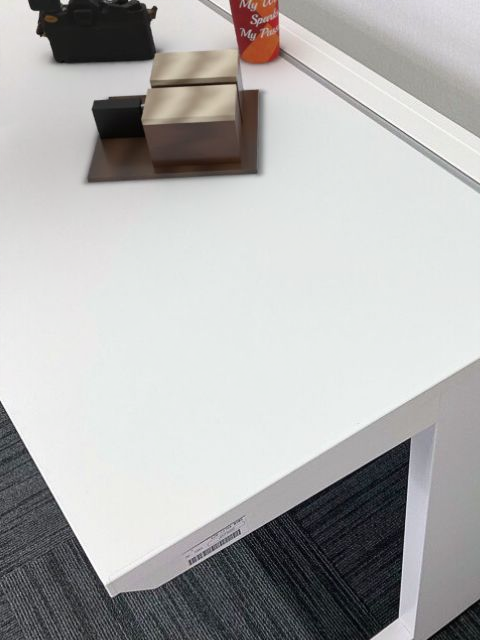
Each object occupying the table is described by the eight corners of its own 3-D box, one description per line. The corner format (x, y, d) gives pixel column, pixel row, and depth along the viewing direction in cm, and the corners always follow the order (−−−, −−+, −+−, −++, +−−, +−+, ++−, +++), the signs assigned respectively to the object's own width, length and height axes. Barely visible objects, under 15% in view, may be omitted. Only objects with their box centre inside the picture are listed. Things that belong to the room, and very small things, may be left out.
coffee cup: (250, 75, 112) (238, -31, 101) (222, 53, 117) (207, -51, 105) (298, 57, 115) (291, -47, 104) (269, 37, 120) (259, -66, 109)
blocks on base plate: (89, 184, 95) (71, 129, 89) (110, 102, 108) (95, 50, 102) (257, 175, 96) (250, 120, 90) (259, 95, 108) (253, 42, 103)
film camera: (154, 22, 124) (141, -42, 116) (170, 58, 116) (156, -9, 108) (42, 42, 120) (20, -23, 112) (50, 80, 112) (27, 13, 105)
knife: (100, 139, 100) (91, 109, 97) (102, 130, 101) (93, 99, 98) (238, 132, 101) (233, 102, 97) (238, 122, 102) (234, 92, 99)
